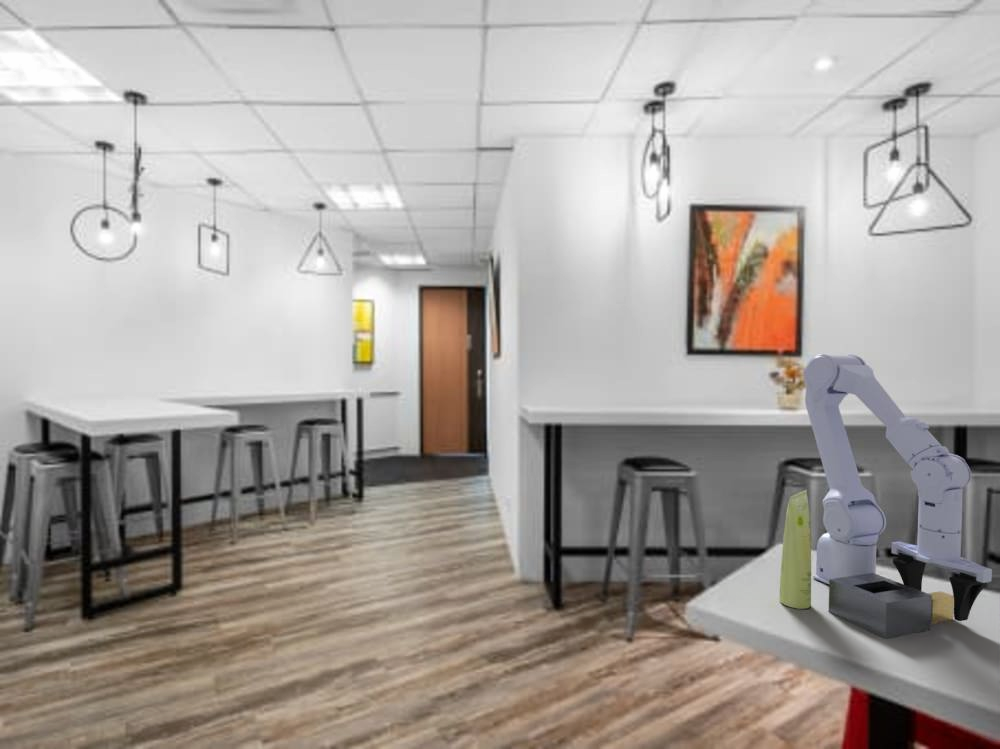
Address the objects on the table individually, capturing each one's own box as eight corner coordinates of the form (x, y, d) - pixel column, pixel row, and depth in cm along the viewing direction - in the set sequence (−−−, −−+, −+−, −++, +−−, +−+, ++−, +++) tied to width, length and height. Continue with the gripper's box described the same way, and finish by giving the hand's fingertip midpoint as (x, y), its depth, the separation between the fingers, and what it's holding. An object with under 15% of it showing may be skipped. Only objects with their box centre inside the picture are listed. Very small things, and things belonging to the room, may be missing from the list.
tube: (818, 612, 97) (821, 497, 97) (786, 610, 98) (789, 495, 97) (803, 598, 103) (806, 489, 102) (774, 596, 103) (776, 488, 103)
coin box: (828, 611, 97) (829, 579, 97) (871, 604, 101) (872, 572, 101) (885, 638, 88) (886, 602, 88) (930, 629, 91) (931, 595, 91)
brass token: (919, 618, 95) (920, 594, 95) (940, 614, 97) (941, 591, 97) (931, 623, 94) (932, 599, 94) (953, 619, 95) (953, 595, 95)
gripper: (879, 518, 101) (877, 595, 101) (971, 543, 87) (968, 633, 87) (908, 515, 103) (906, 591, 103) (1002, 539, 89) (999, 626, 89)
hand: (936, 610), depth 95 cm, fingers open, 7 cm apart
